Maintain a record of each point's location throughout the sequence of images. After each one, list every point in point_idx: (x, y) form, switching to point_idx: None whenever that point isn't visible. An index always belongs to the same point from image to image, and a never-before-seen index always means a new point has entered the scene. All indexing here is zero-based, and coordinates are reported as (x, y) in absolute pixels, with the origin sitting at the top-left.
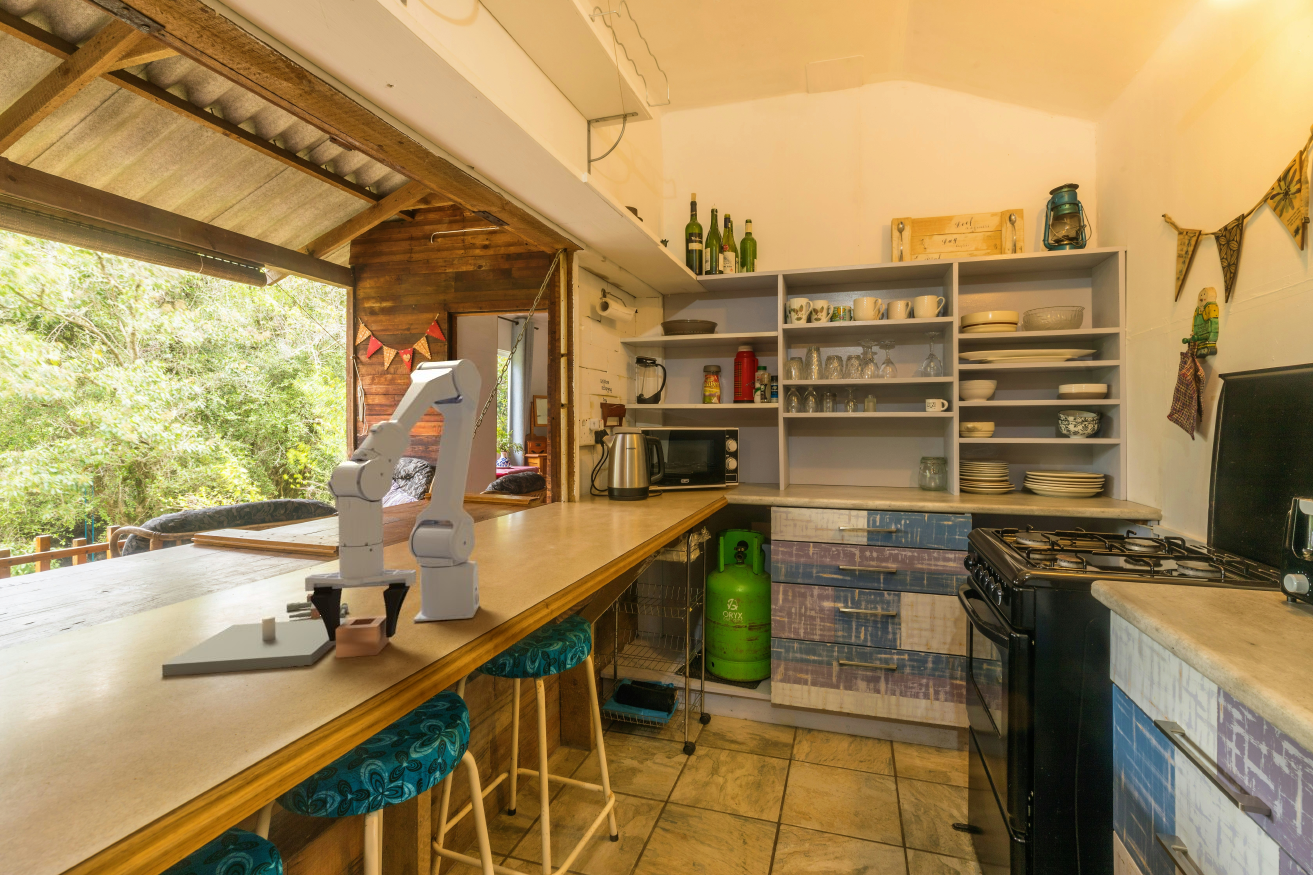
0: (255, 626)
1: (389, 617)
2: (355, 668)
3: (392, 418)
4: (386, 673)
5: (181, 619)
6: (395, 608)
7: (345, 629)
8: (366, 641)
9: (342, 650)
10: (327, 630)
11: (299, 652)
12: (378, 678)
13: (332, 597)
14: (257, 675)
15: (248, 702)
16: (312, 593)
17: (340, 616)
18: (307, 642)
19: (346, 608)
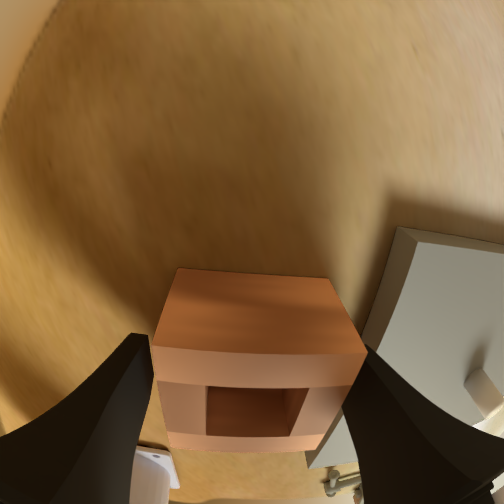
0: (467, 420)
1: (96, 388)
2: (226, 137)
3: None
4: (95, 64)
5: (491, 431)
6: (45, 412)
7: (321, 349)
8: (214, 303)
9: (312, 290)
10: (390, 368)
11: (445, 272)
12: (115, 24)
13: (418, 498)
14: (495, 198)
15: (464, 9)
16: None
17: (336, 472)
18: (419, 353)
19: (327, 488)
